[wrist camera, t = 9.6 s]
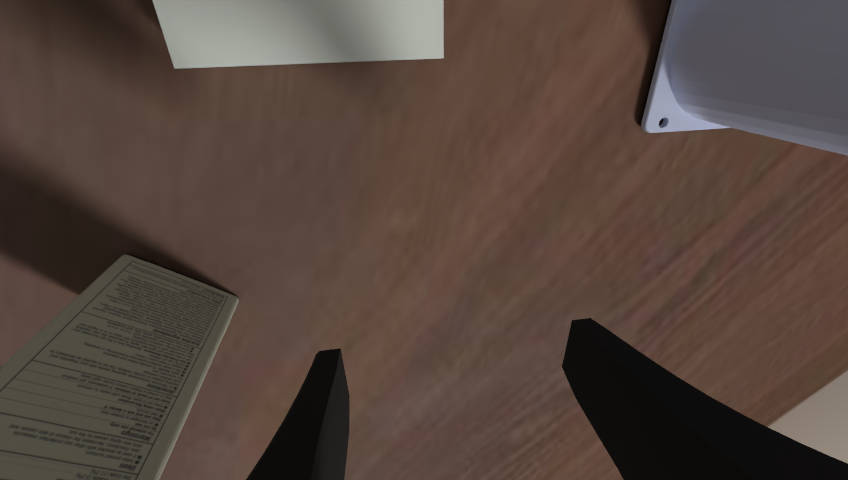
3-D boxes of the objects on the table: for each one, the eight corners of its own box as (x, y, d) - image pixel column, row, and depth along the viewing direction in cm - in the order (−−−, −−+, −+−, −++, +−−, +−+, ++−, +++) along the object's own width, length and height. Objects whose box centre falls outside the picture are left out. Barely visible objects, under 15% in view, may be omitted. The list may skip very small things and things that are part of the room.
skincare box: (101, 308, 20) (-182, 595, 10) (126, 247, 19) (-175, 509, 8) (217, 346, 23) (88, 612, 12) (246, 295, 21) (130, 547, 11)
